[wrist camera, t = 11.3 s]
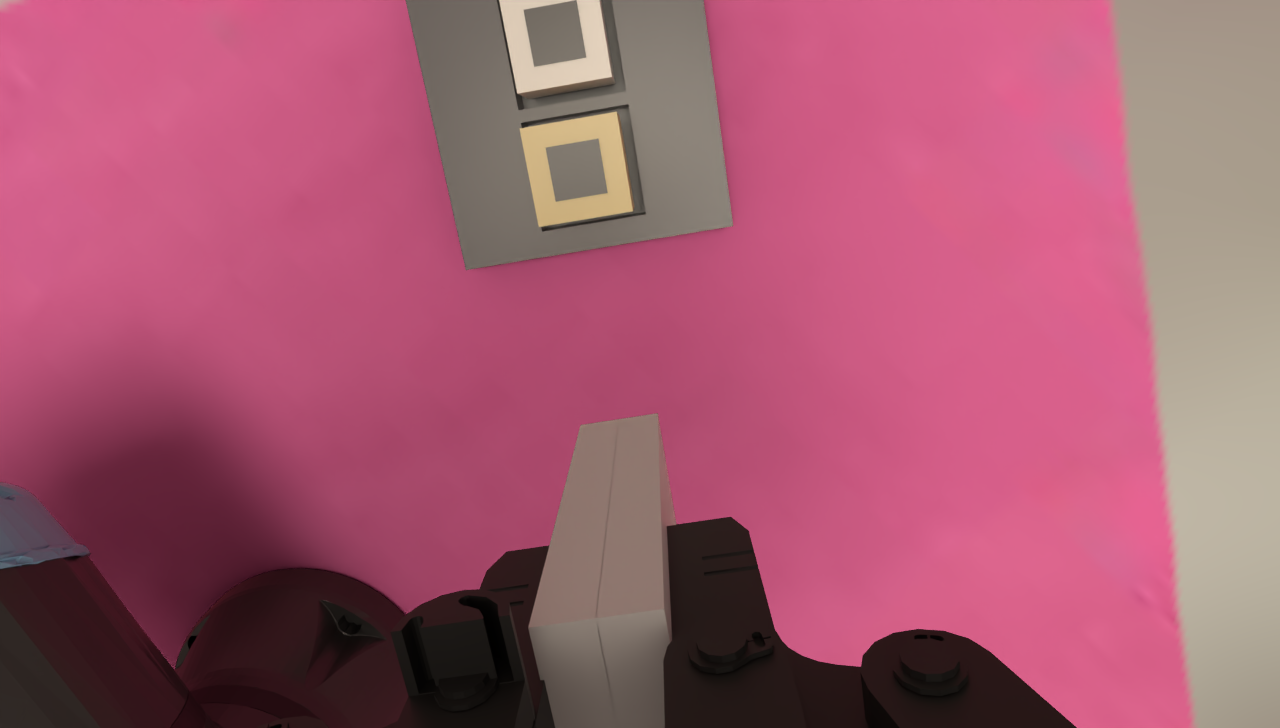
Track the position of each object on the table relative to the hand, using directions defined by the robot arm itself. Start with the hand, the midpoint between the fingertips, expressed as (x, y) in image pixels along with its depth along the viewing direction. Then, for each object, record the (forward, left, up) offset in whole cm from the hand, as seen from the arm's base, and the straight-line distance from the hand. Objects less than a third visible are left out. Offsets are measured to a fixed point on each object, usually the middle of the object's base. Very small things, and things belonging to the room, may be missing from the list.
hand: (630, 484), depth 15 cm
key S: (-2, +6, -25) cm, 26 cm away
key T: (-2, +12, -27) cm, 29 cm away
